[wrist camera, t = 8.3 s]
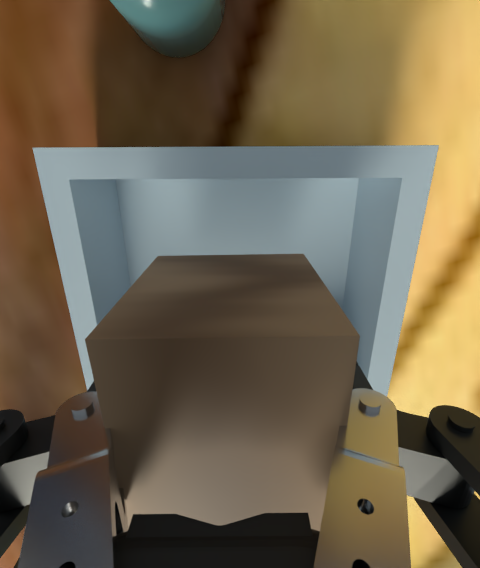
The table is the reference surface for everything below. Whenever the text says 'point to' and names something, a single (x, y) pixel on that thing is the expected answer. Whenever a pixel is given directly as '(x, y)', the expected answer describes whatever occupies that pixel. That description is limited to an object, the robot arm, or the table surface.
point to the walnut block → (225, 386)
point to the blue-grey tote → (242, 223)
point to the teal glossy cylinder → (173, 23)
